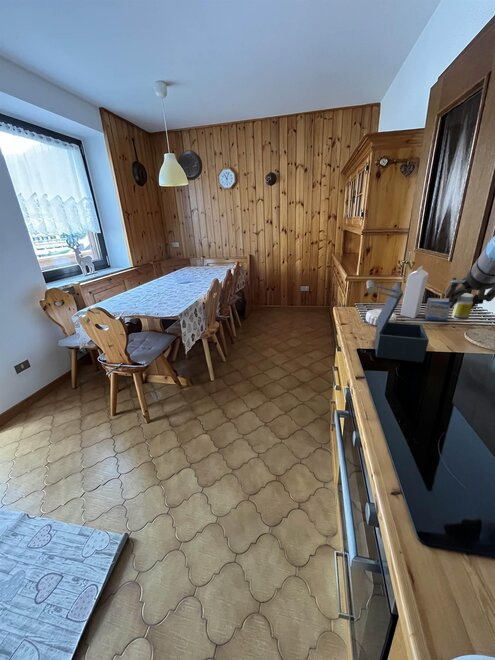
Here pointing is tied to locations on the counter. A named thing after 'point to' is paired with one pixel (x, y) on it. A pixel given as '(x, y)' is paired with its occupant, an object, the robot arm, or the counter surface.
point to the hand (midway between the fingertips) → (460, 305)
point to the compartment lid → (390, 303)
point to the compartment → (401, 342)
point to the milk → (414, 293)
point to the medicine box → (437, 309)
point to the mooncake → (373, 315)
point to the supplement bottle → (463, 307)
